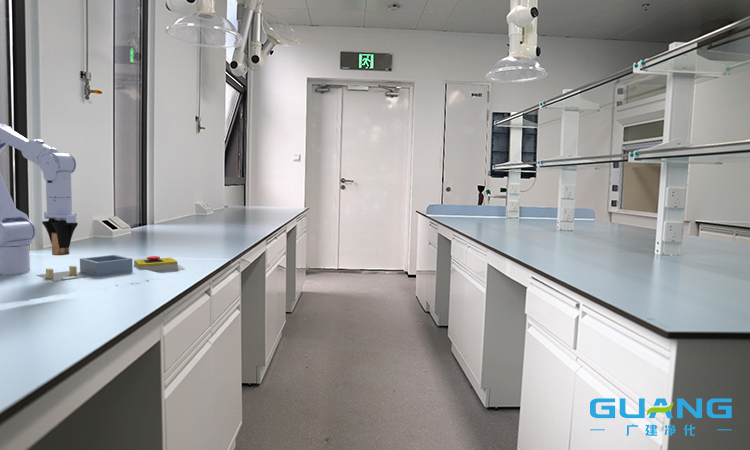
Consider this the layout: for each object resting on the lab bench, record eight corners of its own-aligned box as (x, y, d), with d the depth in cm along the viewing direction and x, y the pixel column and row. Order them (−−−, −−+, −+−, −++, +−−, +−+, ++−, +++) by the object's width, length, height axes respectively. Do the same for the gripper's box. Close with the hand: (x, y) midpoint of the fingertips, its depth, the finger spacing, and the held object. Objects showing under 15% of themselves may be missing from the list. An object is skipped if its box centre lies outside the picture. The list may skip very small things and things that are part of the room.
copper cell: (49, 254, 129) (48, 230, 128) (65, 252, 132) (64, 229, 131) (55, 255, 127) (55, 232, 126) (72, 254, 130) (71, 231, 129)
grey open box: (80, 275, 137) (79, 258, 136) (115, 270, 145) (114, 254, 144) (97, 280, 131) (96, 263, 131) (132, 275, 139) (132, 258, 139)
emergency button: (128, 256, 149) (178, 253, 158) (128, 270, 149) (178, 266, 158) (133, 261, 141) (185, 257, 150) (133, 275, 142) (185, 271, 151)
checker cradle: (35, 279, 130) (35, 266, 130) (67, 275, 137) (67, 262, 136) (55, 286, 123) (54, 272, 123) (87, 281, 130) (87, 268, 130)
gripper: (87, 198, 127) (88, 248, 128) (63, 195, 135) (64, 242, 136) (58, 199, 121) (60, 251, 123) (34, 196, 129) (36, 245, 131)
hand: (60, 246), depth 129 cm, fingers closed on copper cell, 4 cm apart
